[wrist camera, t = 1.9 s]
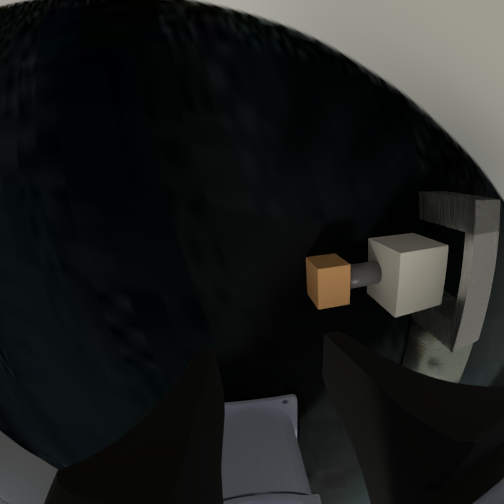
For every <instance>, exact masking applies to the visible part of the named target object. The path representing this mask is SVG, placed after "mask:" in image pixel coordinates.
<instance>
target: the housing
mask: <svg viewBox="0 0 504 504" xmlns="http://www.w3.org/2000/svg"><path fill="white" fill-rule="evenodd" d="M419 219H421V220H424V221H428V222H432V223H435V224H439V225H442V226H446V227H449V228H453V229H456V230H459V231H463V232H465V245H464V256H463V265H462V273H461V280H460V286H459V292H458V298H455V297H454V296H452V295H451V294H449V293H447V292H446V291H444V290H443V296H442V302H441V304H440V305H437V306H434V307H430V308H427V309H424V310H420V311H417V312H414V313H411V317H412V318H413V320H412V322H411V325H410V331H409V336H408V341H407V346H406V351H405V355H404V360H403V364H402V366H404V367H406V368H409V369H411V370H414V371H416V372H419V373H422V374H425V375H427V376H431V377H434V378H437V379H441V380H446V381H450V382H454V383H459V381H460V378H461V376H462V373H463V371H464V368H465V365H466V363H467V360H468V357H469V354H470V351H471V348H472V345H473V342H475V341H477V340H478V339H479V336H480V332H481V329H482V325H483V321H484V318H485V314H486V310H487V306H488V301H489V297H490V292H491V287H492V281H493V276H494V269H495V263H496V255H497V246H498V236H499V221H500V200H498V199H492V198H487V197H481V196H474V195H468V194H461V193H454V192H446V191H433V192H419Z"/></svg>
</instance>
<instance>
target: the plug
mask: <svg viewBox="0 0 504 504" xmlns="http://www.w3.org/2000/svg"><path fill="white" fill-rule="evenodd" d="M447 257H448V245H446V244H443V243H441V242H438V241H435V240H432V239H429V238H427V237H424V236H421V235H418V234H415V233H408V234H400V235H391V236H383V237H374V238H368V262H364V263H357V264H349V263H348V262H346V261H345V260H344V259H342V258H341V257H339V256H338V255H337V254H327V255H319V256H311V257H306V271H307V294H308V295H309V297H310V298H311V300H312V301H313V302H314V304H315V305H316V307H317V308H318V310H320V309H325V308H331V307H336V306H342V305H347V304H350V289H351V288H356V287H362V286H367V294H369V295H370V296H371V297H372V298H373V299H374V300H375V301H377V302H378V303H379V304H380V305H381V306H382V307H383V308H385V309H386V310H387V311H388V312H389V313H390V314H391V315H392V316H394V317H399V316H403V315H406V314H410V313H414V312H417V311H420V310H424V309H427V308H430V307H434V306H437V305H440V304H441V302H442V296H443V290H444V283H445V275H446V267H447Z"/></svg>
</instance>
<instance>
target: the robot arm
mask: <svg viewBox="0 0 504 504" xmlns="http://www.w3.org/2000/svg"><path fill="white" fill-rule="evenodd" d="M322 377H323V380H324V383H325V386H326V389H327V392H328V395H329V398H330V400H331V402H332V404H333V406H334V408H335V410H336V412H337V414H338V416H339V418H340V420H341V422H342V424H343V426H344V428H345V430H346V432H347V434H348V436H349V438H350V440H351V442H352V445H353V447H354V449H355V452H356V455H357V458H358V461H359V464H360V467H361V470H362V473H363V477H364V480H365V483H366V487H367V490H368V494H369V498H370V502H371V504H504V387H484V386H474V385H466V384H460V383H454V382H450V381H446V380H441V379H437V378H434V377H431V376H427V375H425V374H422V373H419V372H416V371H414V370H411V369H409V368H406V367H404V366H402V365H400V364H397V363H395V362H393V361H391V360H389V359H387V358H385V357H383V356H382V355H380V354H378V353H376V352H374V351H373V350H371V349H369V348H367V347H366V346H364V345H362V344H361V343H359V342H357V341H356V340H354V339H353V338H351V337H349V336H348V335H346V334H344V333H342V332H341V331H336V332H331V333H326V334H324V343H323V368H322ZM284 400H286V401H284ZM0 504H8V503H7V502H5V501H4V500H2V499H1V498H0ZM44 504H322V503H321V499H320V496H319V494H314V495H312V494H311V491H310V487H309V483H308V479H307V476H306V472H305V468H304V465H303V461H302V457H301V453H300V449H299V446H298V442H297V397H296V395H294V394H289V395H283V396H277V397H270V398H263V399H255V400H246V401H237V402H225V403H224V389H223V385H222V381H221V376H220V372H219V367H218V363H217V358H216V353H215V349H212V350H200V351H197V352H196V353H195V355H194V356H193V358H192V359H191V361H190V363H189V364H188V366H187V367H186V369H185V370H184V372H183V373H182V374H181V376H180V377H179V379H178V380H177V381H176V383H175V384H174V385H173V387H172V388H171V389H170V391H169V392H168V393H167V394H166V395H165V397H164V398H163V399H162V400H161V401H160V402H159V404H158V405H157V406H156V407H155V408H154V409H153V410H152V411H151V412H150V413H149V414H148V415H147V416H146V417H145V418H144V419H143V420H142V421H141V422H140V423H139V424H138V425H136V426H135V427H134V428H133V429H131V430H130V431H129V432H127V433H126V434H125V435H123V436H122V437H121V438H119V439H118V440H117V441H115V442H114V443H112V444H111V445H109V446H108V447H106V448H104V449H103V450H101V451H99V452H97V453H96V454H94V455H92V456H90V457H88V458H86V459H84V460H82V461H80V462H77V463H75V464H73V465H70V466H68V467H65V468H63V469H60V470H58V471H57V474H56V476H55V478H54V480H53V483H52V485H51V488H50V490H49V493H48V495H47V498H46V500H45V503H44ZM325 504H330V503H325Z"/></svg>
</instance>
